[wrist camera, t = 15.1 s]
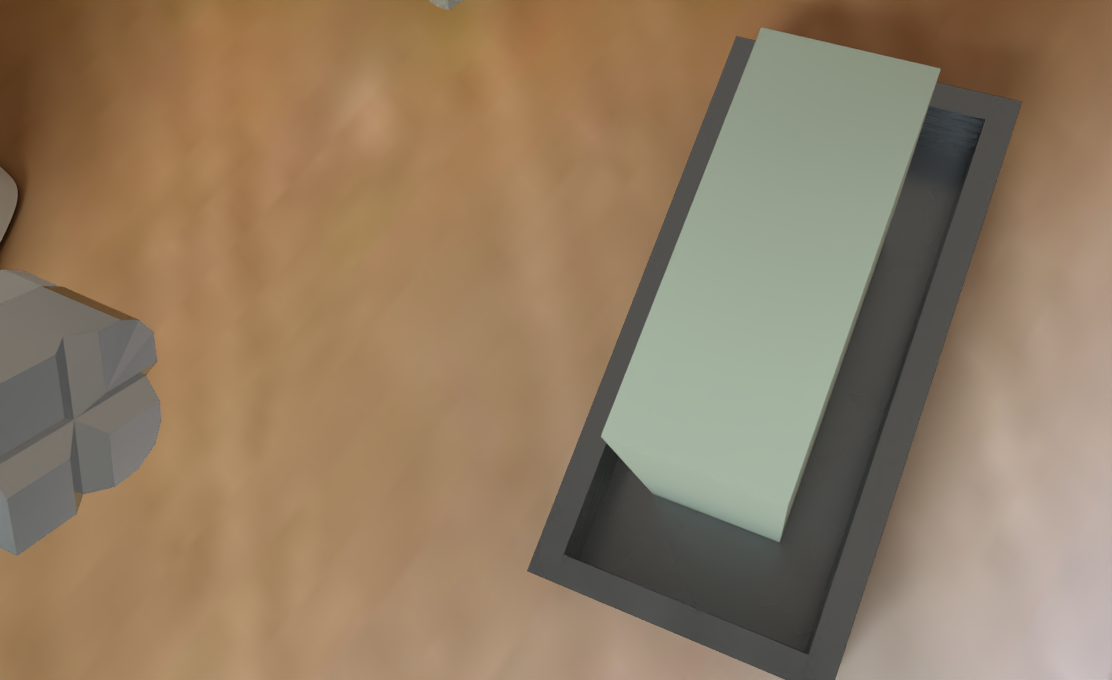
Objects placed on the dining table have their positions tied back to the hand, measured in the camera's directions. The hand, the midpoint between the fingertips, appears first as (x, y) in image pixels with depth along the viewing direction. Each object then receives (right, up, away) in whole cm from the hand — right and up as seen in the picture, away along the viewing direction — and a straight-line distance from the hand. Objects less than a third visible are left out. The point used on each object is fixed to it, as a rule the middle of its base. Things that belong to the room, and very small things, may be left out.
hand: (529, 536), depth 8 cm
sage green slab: (+7, +1, +22) cm, 23 cm away
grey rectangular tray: (+7, +1, +22) cm, 24 cm away
